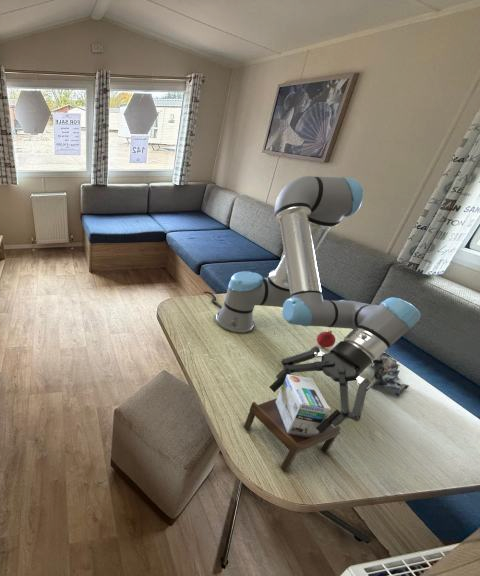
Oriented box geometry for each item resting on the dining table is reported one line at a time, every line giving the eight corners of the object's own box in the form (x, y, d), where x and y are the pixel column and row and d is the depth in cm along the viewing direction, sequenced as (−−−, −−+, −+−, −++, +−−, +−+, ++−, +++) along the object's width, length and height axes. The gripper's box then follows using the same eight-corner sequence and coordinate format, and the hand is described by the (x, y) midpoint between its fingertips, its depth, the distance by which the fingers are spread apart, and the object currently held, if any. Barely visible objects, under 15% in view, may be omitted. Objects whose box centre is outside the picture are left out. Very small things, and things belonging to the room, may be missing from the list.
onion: (328, 353, 119) (336, 337, 115) (311, 346, 123) (319, 330, 119) (333, 347, 122) (341, 331, 118) (316, 340, 126) (324, 324, 122)
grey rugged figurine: (353, 371, 106) (381, 341, 107) (353, 385, 112) (379, 357, 114) (395, 393, 96) (425, 361, 98) (392, 408, 103) (420, 377, 104)
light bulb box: (316, 439, 77) (332, 409, 72) (286, 434, 78) (301, 404, 73) (299, 406, 86) (313, 377, 81) (274, 401, 87) (286, 373, 82)
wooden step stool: (242, 426, 89) (252, 402, 84) (283, 411, 94) (294, 387, 89) (284, 472, 77) (298, 447, 73) (328, 452, 82) (343, 427, 78)
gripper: (307, 317, 85) (251, 370, 87) (417, 380, 64) (339, 448, 66) (314, 329, 89) (260, 380, 91) (418, 391, 68) (345, 455, 71)
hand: (293, 408), depth 79 cm, fingers open, 13 cm apart
